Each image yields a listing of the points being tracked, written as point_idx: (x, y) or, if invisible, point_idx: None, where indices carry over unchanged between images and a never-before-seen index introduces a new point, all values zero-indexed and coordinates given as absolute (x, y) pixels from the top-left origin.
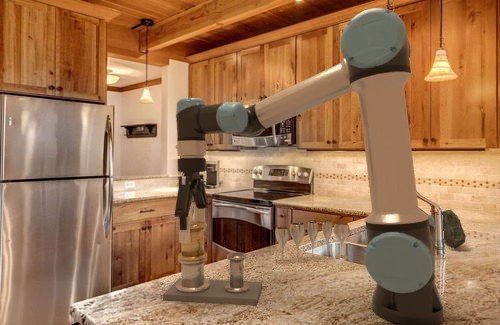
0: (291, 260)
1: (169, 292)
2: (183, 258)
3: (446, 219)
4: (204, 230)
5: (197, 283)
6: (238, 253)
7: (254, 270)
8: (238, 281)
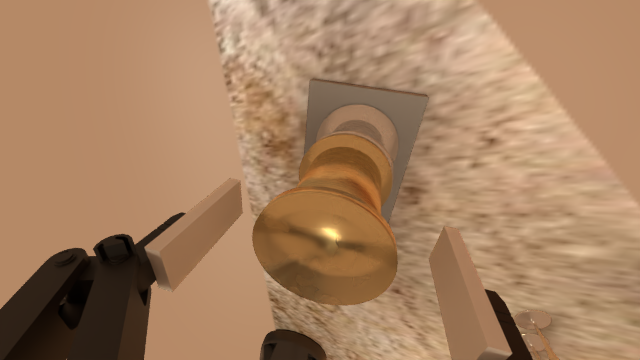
0: (539, 336)
1: (320, 94)
2: (303, 157)
3: None
4: (429, 261)
5: None
6: None
7: (487, 263)
8: None
